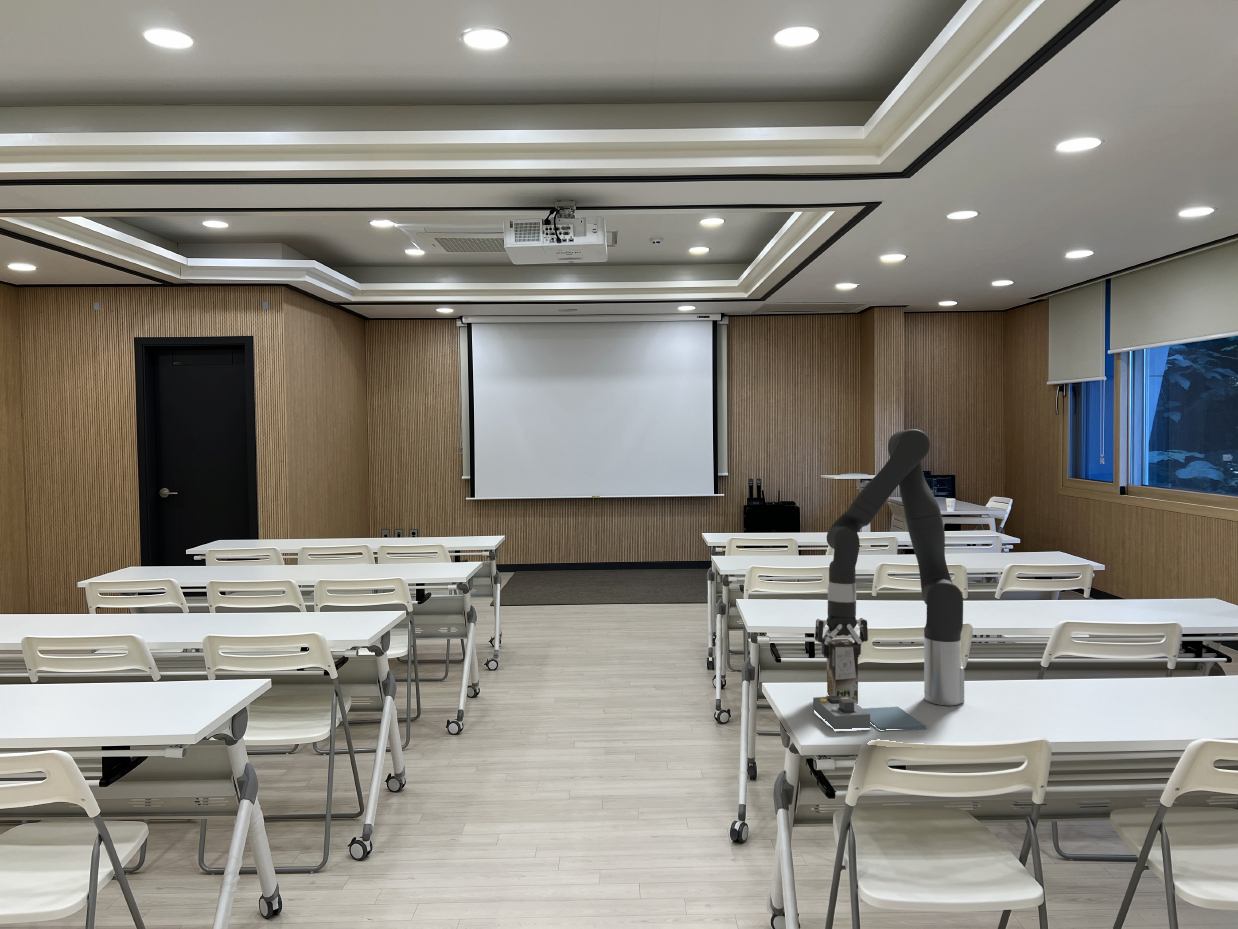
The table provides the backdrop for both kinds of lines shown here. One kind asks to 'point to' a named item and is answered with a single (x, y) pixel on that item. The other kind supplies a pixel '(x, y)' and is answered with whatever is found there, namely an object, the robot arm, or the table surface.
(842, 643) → the coffee box
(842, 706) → the block
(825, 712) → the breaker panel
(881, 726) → the mat
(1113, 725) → the table surface
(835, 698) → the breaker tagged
